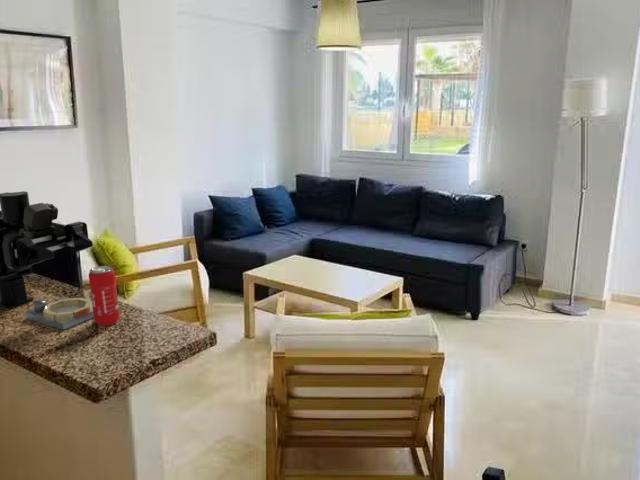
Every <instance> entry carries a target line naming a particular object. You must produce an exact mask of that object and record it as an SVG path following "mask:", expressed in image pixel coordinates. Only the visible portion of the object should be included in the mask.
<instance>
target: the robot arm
mask: <svg viewBox="0 0 640 480" xmlns="http://www.w3.org/2000/svg"><path fill="white" fill-rule="evenodd" d="M0 212H1V217H0V307H3V308H6V309H10V308H14V307H16V306H19V305H23V304H25V303H28V302H30V301H33V300H34V297H32V296H29V295H28V293H27V289H26V284H25V278H24V276H28V275H32V271H33V265H35V264H39V263H42V262H44V261H47V260H51V259H53V258H55V257H56V254H57V250H61V249H64V248H67V249H68V251H69V252H74V253H78V252H81V251H85V250H87V249H89V248H92V247H93V246H94V245H93V241H92V240H91V239H90V238H89V233H88V232H89V231H88V230H89V229H88V224H87V223H86V222H84V221H76V222H72V223H67V224H66V225H65V226H64V227H63V228H64V235H63V236H59V237H58V236H57V235H56V234H55V233H56V231H57V229H56V226H54V225H52V223H53V221H54V220H55V221H56V220H57V219H58V215H59V209H58V207H57V206H55V205H54V204H53V203H49V202H48V203H44V202H39V203H32V204H30V199H29V192H28V191H26V190H25V191H24V190H22V191H18V192H17V191H16V192H15V191H13V192H9V191H8V192H2V193H0Z"/></svg>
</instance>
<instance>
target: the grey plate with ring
mask: <svg viewBox="0 0 640 480" xmlns="http://www.w3.org/2000/svg"><path fill="white" fill-rule="evenodd" d="M25 316H26V317H25V318H26V319H28V320H31V321H34V322H37V323H40V324H44V325H47V326H51V327H54V328H57V329H59V330H62V329H63V330H62V331H65V330H67V328H68V329H70V328H72V327H75V326H77V325H80V324H82V323H85V322H87V321H89V320H91V319H94V314H93V306H92V299H91V300H90V299H87V298H83V297H69V296H66V295H63V296H60V297H58V298H54V301H51V302H49V303H48V302H47V299H43V298H41V299H37V300H34V301H33V309H30V310H27V311H25ZM84 321H85V322H84ZM81 322H82V323H81ZM79 323H80V324H79ZM74 325H75V326H74ZM69 327H70V328H69ZM64 329H65V330H64Z"/></svg>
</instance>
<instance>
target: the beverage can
mask: <svg viewBox="0 0 640 480" xmlns="http://www.w3.org/2000/svg"><path fill="white" fill-rule="evenodd" d="M88 281H89V289H90V296H91V297H90V298H91V301H92V306H93V314H94V318H93V320H94V321H95V323H96V324H97V325H98V326H102V327H106V326H111V325H115V324H116V323H118V322H119V317H120V308H119V307H120V306H119V299H118V298H119V297H118V291H117V284H116V283H117V282H116V272H115V270H114V268H113V267H112V266H110V265H100V266H99V265H98V266H95V267H92V268H90V269H89V273H88Z"/></svg>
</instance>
